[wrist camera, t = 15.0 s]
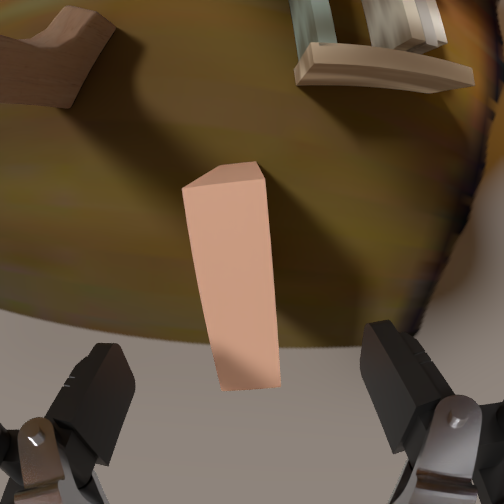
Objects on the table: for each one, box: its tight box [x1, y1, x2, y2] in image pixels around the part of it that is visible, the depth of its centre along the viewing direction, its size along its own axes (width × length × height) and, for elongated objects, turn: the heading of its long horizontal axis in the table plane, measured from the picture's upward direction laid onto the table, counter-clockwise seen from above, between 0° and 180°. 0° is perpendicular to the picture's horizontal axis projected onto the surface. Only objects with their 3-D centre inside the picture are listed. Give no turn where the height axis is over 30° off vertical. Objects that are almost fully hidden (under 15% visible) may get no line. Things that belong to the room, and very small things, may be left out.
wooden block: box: [0, 6, 116, 109], centre depth 11 cm, size 9×4×18 cm, turn 148°
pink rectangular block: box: [182, 161, 281, 391], centre depth 18 cm, size 10×3×14 cm, turn 6°
